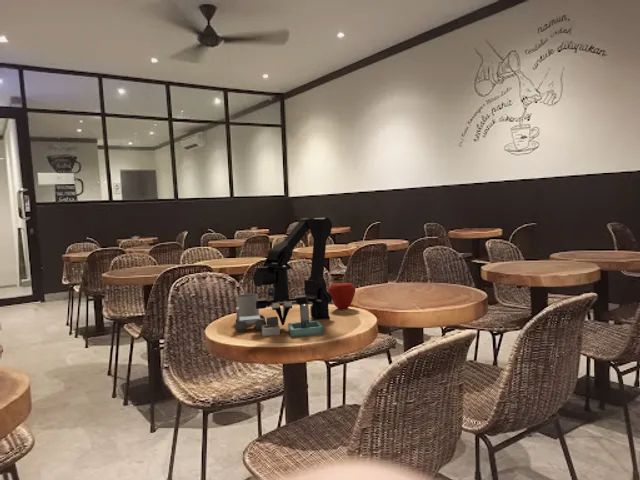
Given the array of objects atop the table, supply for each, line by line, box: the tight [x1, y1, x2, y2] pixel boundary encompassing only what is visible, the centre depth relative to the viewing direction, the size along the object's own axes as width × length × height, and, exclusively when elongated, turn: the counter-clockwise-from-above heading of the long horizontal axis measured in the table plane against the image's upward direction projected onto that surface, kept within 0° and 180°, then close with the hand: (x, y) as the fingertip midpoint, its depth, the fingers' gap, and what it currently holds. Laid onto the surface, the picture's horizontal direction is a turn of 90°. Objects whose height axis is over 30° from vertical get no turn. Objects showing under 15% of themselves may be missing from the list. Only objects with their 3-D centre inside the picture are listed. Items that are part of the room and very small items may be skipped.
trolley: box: [235, 306, 267, 333], centre depth 179 cm, size 11×9×8 cm
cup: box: [236, 293, 260, 317], centre depth 193 cm, size 8×8×10 cm
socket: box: [261, 323, 281, 337], centre depth 170 cm, size 6×6×2 cm
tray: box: [287, 320, 324, 338], centre depth 169 cm, size 11×10×2 cm
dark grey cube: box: [265, 316, 279, 325], centre depth 177 cm, size 4×4×4 cm
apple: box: [328, 281, 356, 310], centre depth 206 cm, size 11×11×12 cm
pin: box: [299, 303, 310, 328], centre depth 169 cm, size 3×3×9 cm
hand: (282, 325), depth 177 cm, fingers closed
